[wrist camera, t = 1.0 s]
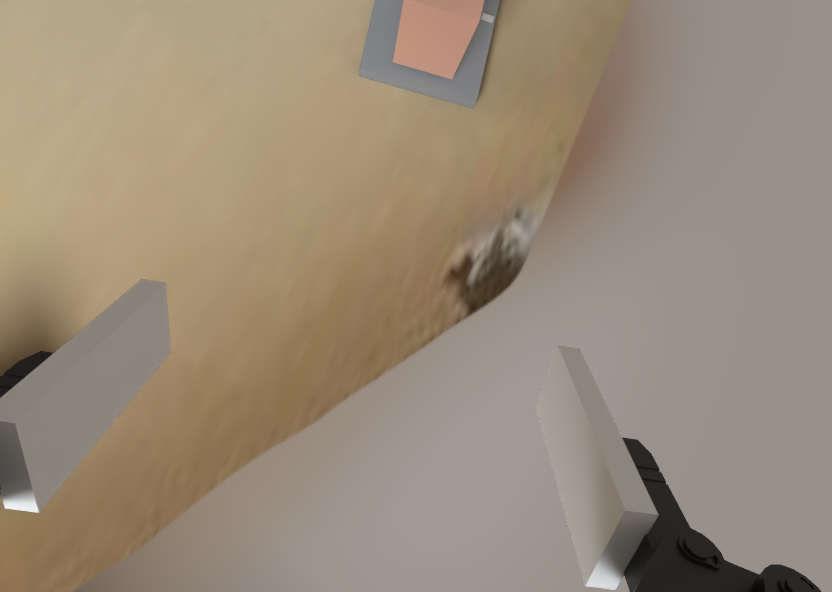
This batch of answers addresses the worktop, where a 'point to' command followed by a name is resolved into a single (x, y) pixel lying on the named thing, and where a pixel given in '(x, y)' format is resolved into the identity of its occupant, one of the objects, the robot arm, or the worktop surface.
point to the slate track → (383, 70)
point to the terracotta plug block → (436, 34)
